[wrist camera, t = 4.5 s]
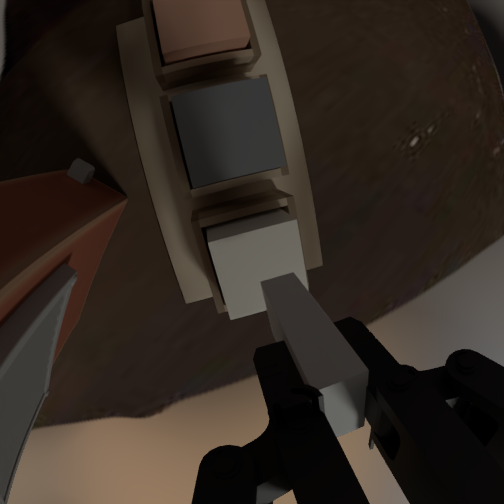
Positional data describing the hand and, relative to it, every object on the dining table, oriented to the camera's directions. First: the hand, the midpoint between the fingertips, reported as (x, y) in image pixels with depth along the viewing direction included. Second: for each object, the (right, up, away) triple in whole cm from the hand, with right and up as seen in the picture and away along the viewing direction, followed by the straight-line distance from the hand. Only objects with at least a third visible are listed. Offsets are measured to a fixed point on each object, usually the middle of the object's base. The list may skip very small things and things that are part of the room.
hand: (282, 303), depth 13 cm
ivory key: (-1, +2, +7) cm, 8 cm away
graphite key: (-3, +10, +5) cm, 11 cm away
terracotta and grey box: (-16, +3, +8) cm, 18 cm away
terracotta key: (-5, +17, +3) cm, 18 cm away
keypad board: (-4, +11, +7) cm, 14 cm away
